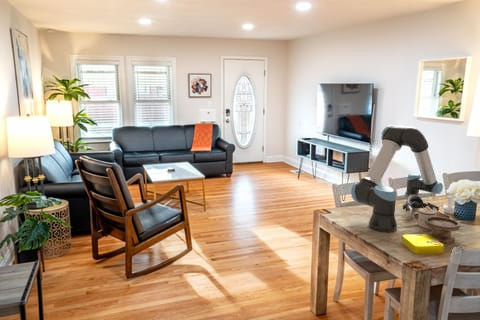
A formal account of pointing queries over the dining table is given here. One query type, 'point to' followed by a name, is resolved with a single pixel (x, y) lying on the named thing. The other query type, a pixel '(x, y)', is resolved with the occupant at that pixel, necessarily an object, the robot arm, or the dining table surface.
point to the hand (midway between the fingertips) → (423, 212)
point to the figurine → (449, 205)
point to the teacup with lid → (424, 216)
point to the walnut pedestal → (442, 228)
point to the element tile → (422, 244)
